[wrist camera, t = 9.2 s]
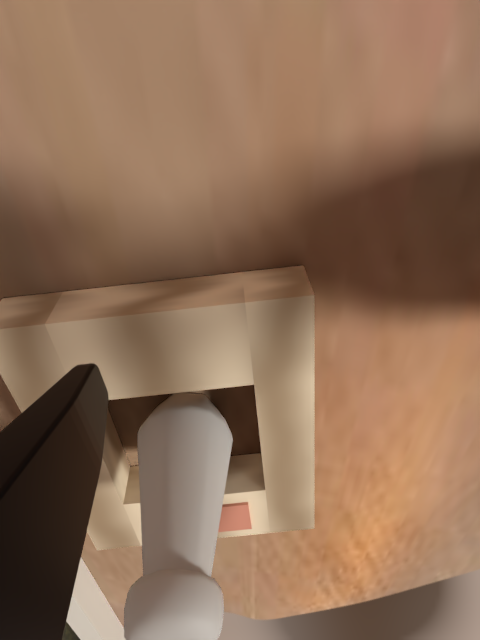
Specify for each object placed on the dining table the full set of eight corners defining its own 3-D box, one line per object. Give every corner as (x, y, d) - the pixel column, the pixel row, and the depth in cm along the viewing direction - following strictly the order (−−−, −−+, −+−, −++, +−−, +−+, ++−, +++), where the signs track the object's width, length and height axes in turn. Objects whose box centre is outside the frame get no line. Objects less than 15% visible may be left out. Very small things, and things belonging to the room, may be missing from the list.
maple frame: (303, 265, 23) (315, 297, 20) (307, 491, 34) (314, 531, 31) (2, 298, 23) (-26, 334, 20) (105, 512, 34) (96, 552, 32)
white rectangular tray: (54, 512, 34) (41, 551, 32) (126, 633, 47) (121, 667, 45) (-99, 528, 34) (-123, 567, 32) (16, 644, 47) (5, 678, 45)
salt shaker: (151, 446, 30) (116, 679, 19) (134, 385, 27) (80, 625, 16) (234, 439, 30) (245, 668, 19) (227, 377, 27) (236, 612, 16)
